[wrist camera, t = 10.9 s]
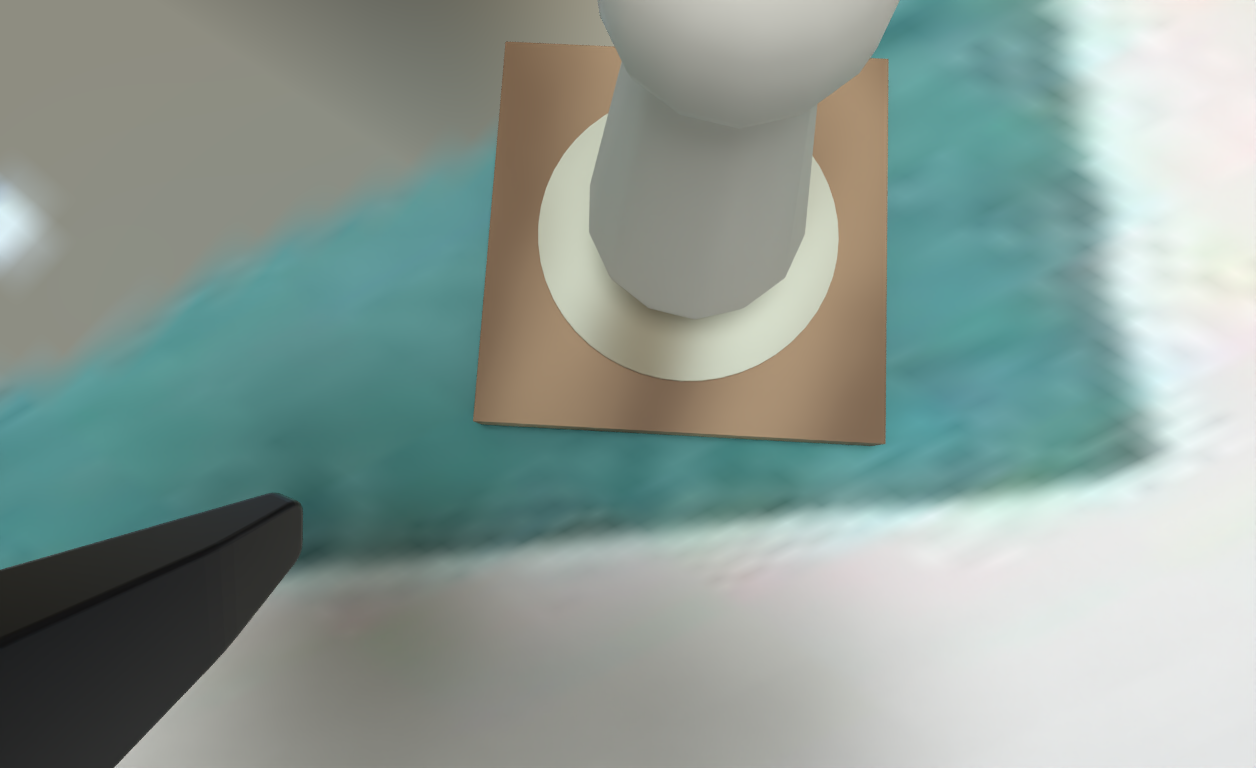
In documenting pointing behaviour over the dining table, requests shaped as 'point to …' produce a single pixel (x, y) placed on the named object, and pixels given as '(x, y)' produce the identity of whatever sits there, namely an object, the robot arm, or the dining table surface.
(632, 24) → the salt shaker
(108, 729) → the robot arm
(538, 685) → the dining table surface
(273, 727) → the dining table surface
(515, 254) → the brown coaster
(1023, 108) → the dining table surface
